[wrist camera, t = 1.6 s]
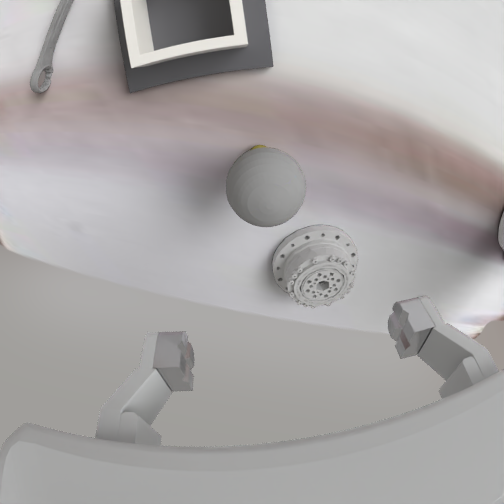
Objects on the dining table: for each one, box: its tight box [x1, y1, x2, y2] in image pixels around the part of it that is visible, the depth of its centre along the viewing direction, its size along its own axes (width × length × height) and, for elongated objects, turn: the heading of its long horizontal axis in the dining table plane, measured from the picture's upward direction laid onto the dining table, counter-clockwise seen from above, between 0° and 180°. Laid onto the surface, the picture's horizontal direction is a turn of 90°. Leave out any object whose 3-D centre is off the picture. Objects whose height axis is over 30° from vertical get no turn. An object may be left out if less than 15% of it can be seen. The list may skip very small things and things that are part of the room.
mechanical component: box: [272, 225, 358, 308], centre depth 32 cm, size 10×4×10 cm
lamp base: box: [114, 0, 273, 93], centre depth 15 cm, size 12×12×5 cm
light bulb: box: [226, 145, 306, 227], centre depth 22 cm, size 6×6×10 cm
